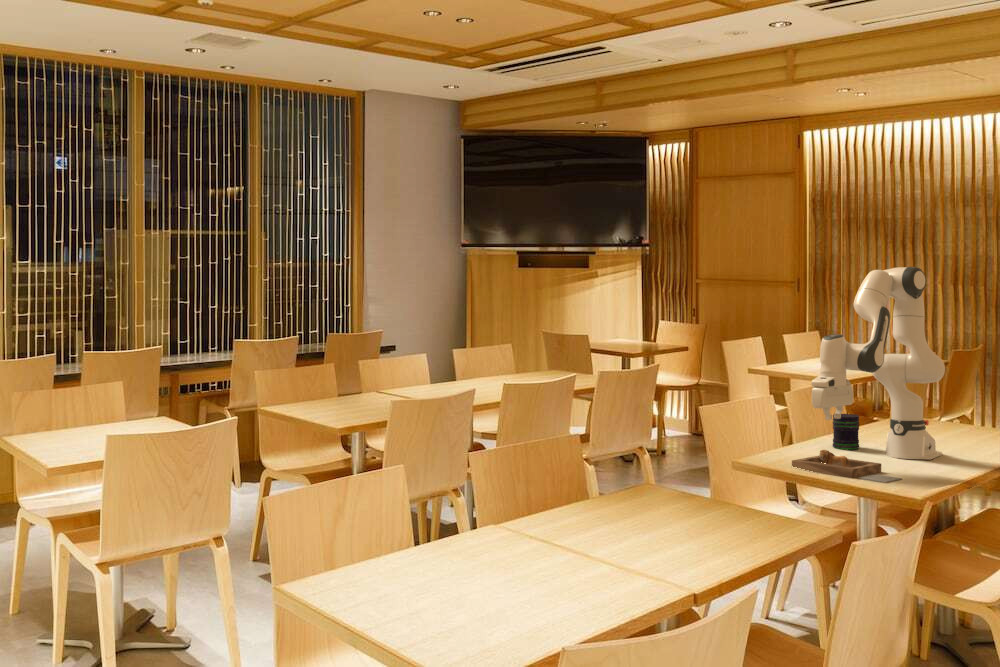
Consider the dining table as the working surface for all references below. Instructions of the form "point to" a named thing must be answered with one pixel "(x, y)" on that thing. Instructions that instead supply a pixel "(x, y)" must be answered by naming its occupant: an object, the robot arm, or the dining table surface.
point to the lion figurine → (833, 458)
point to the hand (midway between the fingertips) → (833, 419)
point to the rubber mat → (880, 478)
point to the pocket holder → (838, 467)
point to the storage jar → (846, 432)
